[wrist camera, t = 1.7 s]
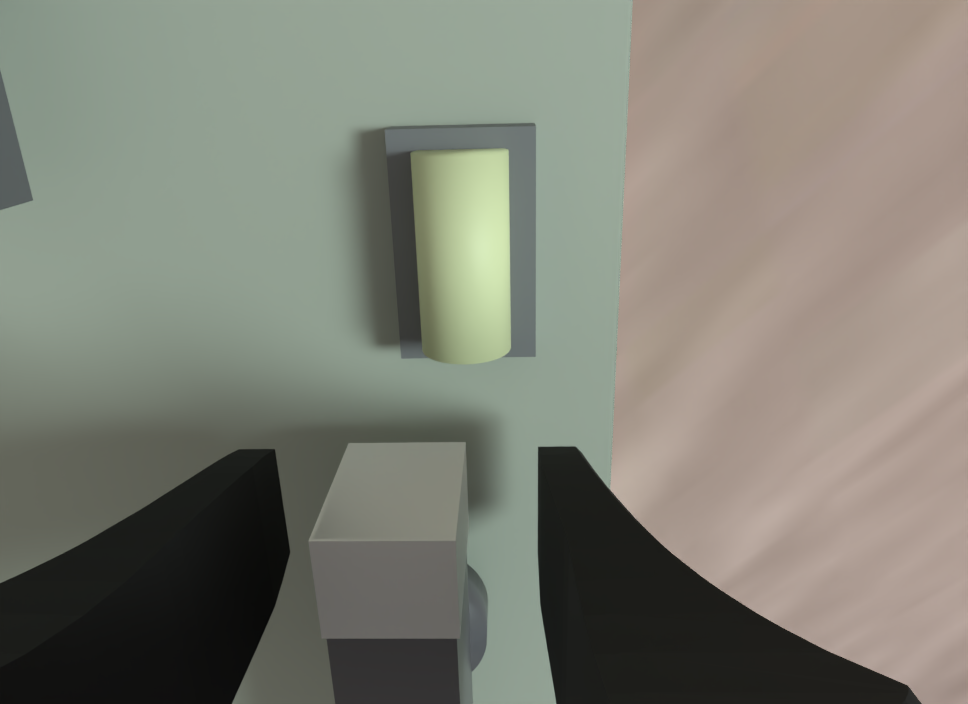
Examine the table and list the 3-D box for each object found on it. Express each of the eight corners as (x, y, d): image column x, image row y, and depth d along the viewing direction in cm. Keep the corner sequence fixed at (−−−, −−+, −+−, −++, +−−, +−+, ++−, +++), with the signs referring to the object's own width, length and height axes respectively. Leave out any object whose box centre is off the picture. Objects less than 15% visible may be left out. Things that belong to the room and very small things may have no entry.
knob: (492, 750, 16) (488, 935, 12) (380, 750, 16) (347, 933, 12) (482, 414, 13) (474, 540, 9) (345, 416, 13) (289, 541, 9)
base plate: (590, 756, 18) (604, 876, 15) (24, 753, 18) (-57, 869, 15) (648, -689, 9) (708, -1011, 6) (-467, -622, 9) (-850, -891, 7)
